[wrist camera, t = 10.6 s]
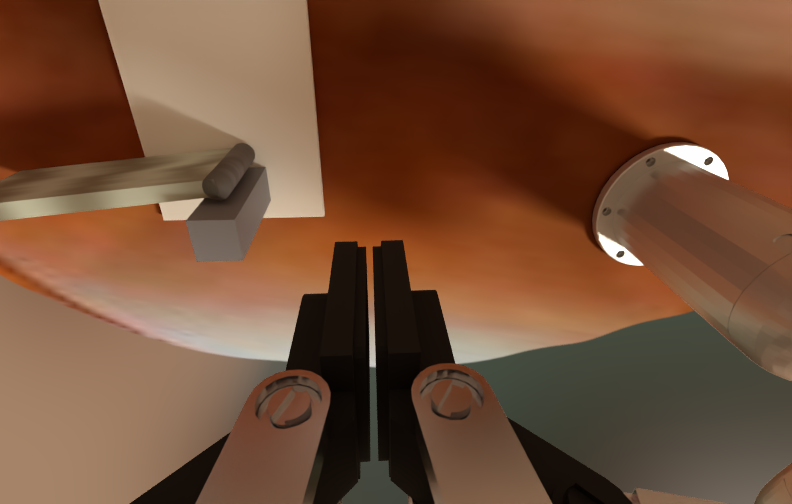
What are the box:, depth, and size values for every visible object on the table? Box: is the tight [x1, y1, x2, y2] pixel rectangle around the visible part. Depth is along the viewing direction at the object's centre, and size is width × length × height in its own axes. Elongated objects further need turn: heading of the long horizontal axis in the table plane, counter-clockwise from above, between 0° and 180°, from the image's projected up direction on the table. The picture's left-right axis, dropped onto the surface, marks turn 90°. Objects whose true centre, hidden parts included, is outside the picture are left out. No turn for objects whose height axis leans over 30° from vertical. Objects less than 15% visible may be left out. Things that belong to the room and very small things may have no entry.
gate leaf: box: [0, 143, 255, 221], centre depth 30 cm, size 18×2×8 cm, turn 95°
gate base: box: [98, 0, 325, 262], centre depth 27 cm, size 26×14×11 cm, turn 179°
